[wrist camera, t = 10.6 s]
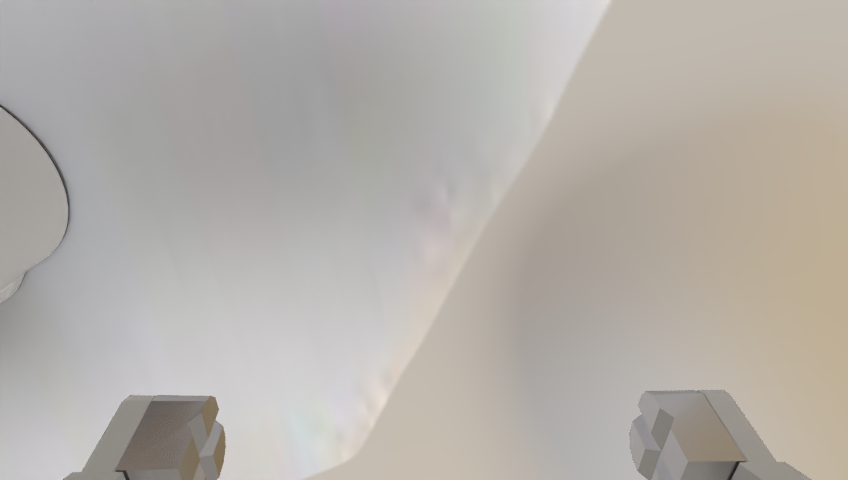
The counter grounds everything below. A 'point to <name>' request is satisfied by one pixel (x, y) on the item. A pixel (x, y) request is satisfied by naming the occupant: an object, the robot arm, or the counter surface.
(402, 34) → the counter surface
